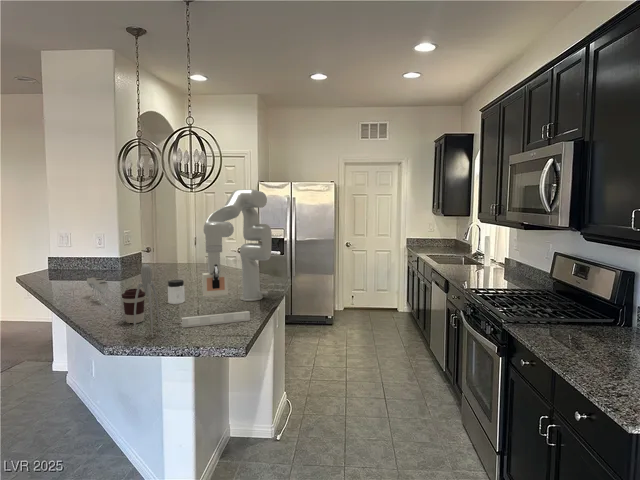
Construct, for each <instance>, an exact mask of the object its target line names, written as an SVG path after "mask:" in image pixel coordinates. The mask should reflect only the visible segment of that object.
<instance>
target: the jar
mask: <svg viewBox="0 0 640 480" xmlns="http://www.w3.org/2000/svg"><path fill="white" fill-rule="evenodd" d="M185 296H186V294H185V284H184V279H172V280H171V279H170V280H168V281H167V299H168V300H167V301H168V302H167V303H168V304H171V305H178V304H183V303H184V302H186V297H185Z"/></svg>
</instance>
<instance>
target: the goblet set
mask: <svg viewBox="0 0 640 480" xmlns="http://www.w3.org/2000/svg"><path fill="white" fill-rule="evenodd" d="M86 284H87V286H89V287H90V288H91V291H92V292H94V294H92V296H90V298H89V299H94V300H93V301H99V302H98V303H100V304H101V305H100V306H107V305H109V304H110V303H108V302H107V301H105V300H106V299H105V296H106V293H107V291H108V289H109V283H108V282H107V281H106V278H101V277H100V276H98V275H97V276H88V277H87V278H86ZM94 295H95V296H94ZM99 295H100V297H99ZM102 296H103V297H102ZM102 298H103V299H102ZM98 303H97V304H98Z"/></svg>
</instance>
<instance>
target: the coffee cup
mask: <svg viewBox="0 0 640 480" xmlns="http://www.w3.org/2000/svg"><path fill="white" fill-rule="evenodd" d="M136 291H137V288H129V289H126V290H125V292H124V293H122V294H121V298H122V299H123V302H122V303H123V308H124V309H123V310H124V315H125V320H126V321H125V322H126V323H127V324H130V323H133V324H134V304H135V296H136ZM145 296H146V294H145V291H144V290H142V288H140V290H139V294H138V298H137V305H136V324H139V323H142V322H143V321H144V312H145V299H144V298H145Z"/></svg>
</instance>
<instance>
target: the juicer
mask: <svg viewBox="0 0 640 480" xmlns="http://www.w3.org/2000/svg"><path fill="white" fill-rule="evenodd" d="M140 277H141V278H140V279H141V280H140V281H141V282H138V284H137V288H136V289H137V291H136V296H135V304H134V323H133V333H134V335H135V336H136V335H137V330H136V329H137V323H136V305H137V298H138V294H139V290H140V289H143V292H145V296H146V297H147V298H148V306H149V307H148V308H149V315H150V317H149V318H150V327H151V328H150V329H151V338H152V339H153V338H154V330H153V329H154V327H153V326H154V325H153V323H154V322H153V304H152V302H153V301H152V292H153V295H154V298H155V306H156V311H157V312H156V314H157V322H158V331H159V332H160V331H161V324H160V323H161V322H160V321H161V320H160V310H159V309H160V308H159V301H158V295H157V290H156V287H155V283H154V281H152V277H153V274H152V267H151V266H150V265H149V264H148V263H144V264H143V265H141V268H140ZM151 289H152V290H151Z"/></svg>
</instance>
